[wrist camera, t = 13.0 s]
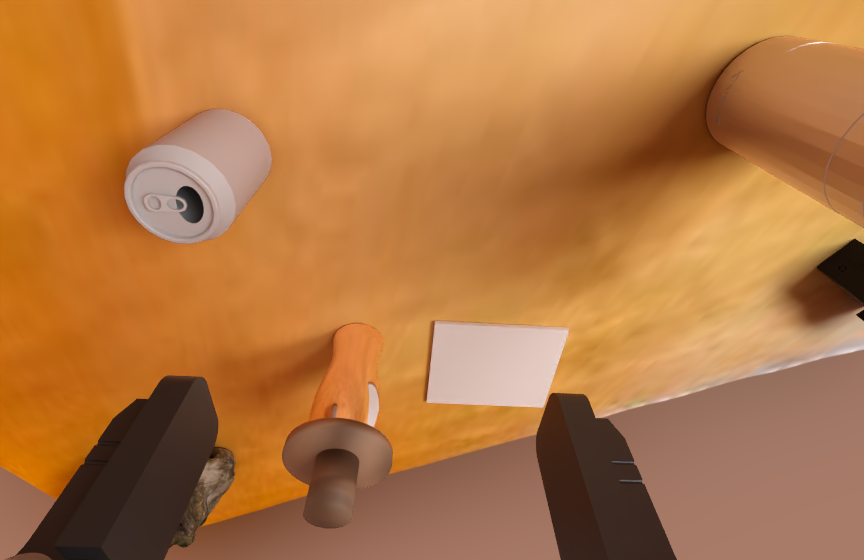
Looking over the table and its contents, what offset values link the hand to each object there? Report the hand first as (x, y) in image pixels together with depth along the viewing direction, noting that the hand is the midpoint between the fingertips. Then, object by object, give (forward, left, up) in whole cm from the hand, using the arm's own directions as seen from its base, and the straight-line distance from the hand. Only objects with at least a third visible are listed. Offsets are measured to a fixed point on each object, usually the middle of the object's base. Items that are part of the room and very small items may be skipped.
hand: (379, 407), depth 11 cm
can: (+16, +6, -33) cm, 37 cm away
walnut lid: (+5, +29, -18) cm, 35 cm away
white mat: (-12, +32, -33) cm, 48 cm away
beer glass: (+5, +29, -33) cm, 44 cm away
